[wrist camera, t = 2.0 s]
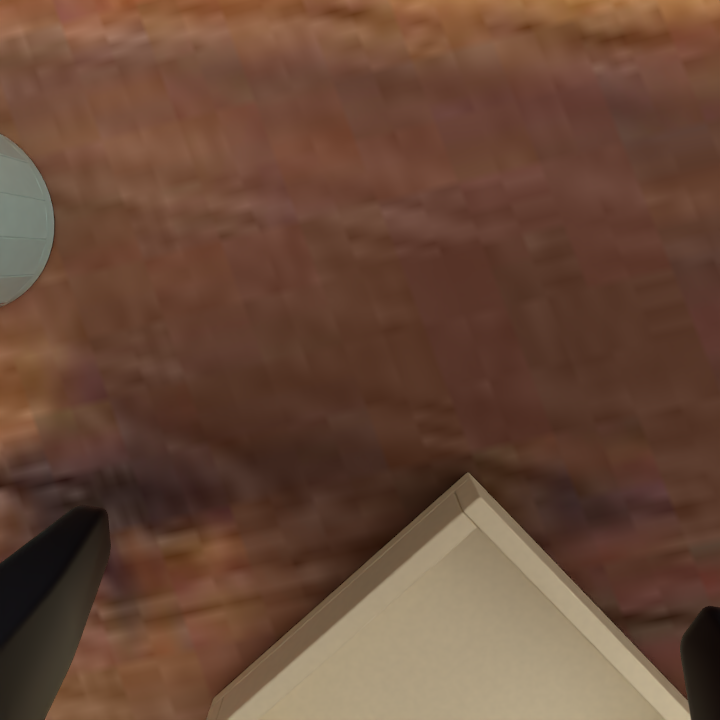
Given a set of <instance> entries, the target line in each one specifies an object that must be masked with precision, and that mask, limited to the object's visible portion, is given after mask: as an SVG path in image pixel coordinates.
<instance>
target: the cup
mask: <svg viewBox="0 0 720 720" xmlns="http://www.w3.org/2000/svg"><path fill="white" fill-rule="evenodd" d="M53 237H54V214H53V207H52V202H51V198H50V195H49V192H48V189H47V187H46V184H45V182H44V180H43V178H42V176H41V174H40V172H39V171H38V169H37V168H36V166H35V165H34V163H33V162H32V160H31V159H30V158H29V157H28V156H27V155H26V154H25V152H24V151H23V150H22V149H21V148H20V147H18V146H17V145H16V144H15V143H14V142H13V141H11V140H10V139H9V138H7V137H6V136H4V135H3V134H1V133H0V307H2V306H4V305H6V304H8V303H10V302H12V301H14V300H15V299H17V298H18V297H20V296H21V295H22V294H23V293H24V292H26V291H27V290H28V289H29V288H30V287H31V286H32V284H33V283H34V282H35V281H36V280H37V279H38V277H39V275H40V274H41V272H42V271H43V269H44V267H45V265H46V262H47V260H48V258H49V255H50V251H51V248H52V243H53Z"/></svg>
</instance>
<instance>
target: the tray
mask: <svg viewBox="0 0 720 720" xmlns="http://www.w3.org/2000/svg"><path fill="white" fill-rule="evenodd" d="M206 720H691V716H690V710H689V704H688V701H687V700H686V699H685V698H684V697H683V695H682V694H681V693H680V692H679V691H678V690H677V689H676V688H675V687H674V686H673V685H672V684H671V683H670V682H669V681H668V680H667V679H666V678H665V677H664V676H663V675H662V674H661V673H660V671H659V670H658V669H657V668H656V667H655V666H654V665H653V664H652V663H651V662H650V661H649V660H648V659H647V658H646V657H645V656H644V655H643V654H642V653H641V652H640V651H639V650H638V649H637V648H636V646H635V645H634V644H633V643H632V642H631V641H630V640H629V639H628V638H627V637H626V636H625V635H624V634H623V633H622V632H621V631H620V630H619V629H618V628H617V627H616V626H615V625H614V624H613V622H612V621H611V620H610V619H609V618H608V617H607V616H606V615H605V614H604V613H603V612H602V611H601V610H600V609H599V608H598V607H597V606H596V605H595V604H594V603H593V602H592V601H591V600H590V598H589V597H588V596H587V595H586V594H585V593H584V592H583V591H582V590H581V589H580V588H579V587H578V586H577V585H576V584H575V583H574V582H573V581H572V580H571V579H570V578H569V577H568V576H567V574H566V573H565V572H564V571H563V570H562V569H561V568H560V567H559V566H558V565H557V564H556V563H555V562H554V561H553V560H552V559H551V558H550V557H549V556H548V555H547V554H546V553H545V552H544V551H543V549H542V548H541V547H540V546H539V545H538V544H537V543H536V542H535V541H534V540H533V539H532V538H531V537H530V536H529V535H528V534H527V533H526V532H525V531H524V530H523V529H522V528H521V527H520V525H519V524H518V523H517V522H516V521H515V520H514V519H513V518H512V517H511V516H510V515H509V514H508V513H507V512H506V511H505V510H504V509H503V508H502V507H501V506H500V505H499V504H498V503H497V501H496V500H495V499H494V498H493V497H492V496H491V495H490V494H489V493H488V492H487V491H486V490H485V489H484V488H483V487H482V486H481V485H480V484H479V483H478V482H477V481H476V480H475V479H474V478H473V476H472V475H471V474H470V473H466V474H465V475H464V476H463V477H461V478H460V479H459V480H458V481H457V482H456V483H455V484H454V485H453V486H451V487H450V488H449V489H448V490H447V491H446V492H445V493H444V494H442V495H441V496H440V497H439V498H438V499H437V500H436V501H435V502H433V503H432V504H431V505H430V506H429V507H428V508H427V509H426V510H424V511H423V512H422V513H421V514H420V515H419V516H418V517H417V518H415V519H414V520H413V521H412V522H411V523H410V524H409V525H408V526H406V527H405V528H404V529H403V530H402V531H401V532H400V533H399V534H397V535H396V536H395V537H394V538H393V539H392V540H391V541H390V542H388V543H387V544H386V545H385V546H384V547H383V548H382V549H381V550H379V551H378V552H377V553H376V554H375V555H374V556H373V557H372V558H370V559H369V560H368V561H367V562H366V563H365V564H364V565H363V566H361V567H360V568H359V569H358V570H357V571H356V572H355V573H354V574H352V575H351V576H350V577H349V578H348V579H347V580H346V581H345V582H343V583H342V584H341V585H340V586H339V587H338V588H337V589H336V590H335V591H333V592H332V593H331V594H330V595H329V596H328V597H327V598H326V599H324V600H323V601H322V602H321V603H320V604H319V605H318V606H317V607H315V608H314V609H313V610H312V611H311V612H310V613H309V614H308V615H306V616H305V617H304V618H303V619H302V620H301V621H300V622H299V623H297V624H296V625H295V626H294V627H293V628H292V629H291V630H290V631H288V632H287V633H286V634H285V635H284V636H283V637H282V638H281V639H279V640H278V641H277V642H276V643H275V644H274V645H273V646H272V647H270V648H269V649H268V650H267V651H266V652H265V653H264V654H263V655H261V656H260V657H259V658H258V659H257V660H256V661H255V662H254V663H252V664H251V665H250V666H249V667H248V668H247V669H246V670H245V671H243V672H242V673H241V674H240V675H239V676H238V677H237V678H236V679H234V680H233V681H232V682H231V683H230V684H229V685H228V686H227V687H225V688H224V689H223V690H222V691H221V692H220V693H219V694H218V695H216V696H215V697H214V698H213V701H212V704H211V707H210V710H209V713H208V716H207V719H206Z"/></svg>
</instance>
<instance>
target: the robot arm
mask: <svg viewBox="0 0 720 720" xmlns="http://www.w3.org/2000/svg"><path fill="white" fill-rule="evenodd" d="M110 549H111V542H110V532H109V521H108V514H107V512H106V510H105V509H102V508H97V507H91V506H85V505H79V506H76V507H74V508H73V509H71V510H70V511H69V512H67V513H66V514H65V515H63V516H62V517H61V518H59V519H58V520H57V521H56V522H54V523H53V524H52V525H50V526H49V527H48V528H46V529H45V530H44V531H42V532H41V533H40V534H38V535H37V536H36V537H34V538H33V539H32V540H30V541H29V542H28V543H27V544H25V545H24V546H23V547H21V548H20V549H19V550H17V551H16V552H15V553H13V554H12V555H11V556H9V557H8V558H7V559H5V560H4V561H3V562H1V563H0V720H44V719H45V717H46V715H47V713H48V711H49V709H50V707H51V705H52V703H53V701H54V699H55V697H56V694H57V692H58V690H59V688H60V686H61V684H62V682H63V680H64V678H65V676H66V673H67V671H68V669H69V667H70V665H71V662H72V660H73V658H74V655H75V652H76V650H77V647H78V644H79V641H80V639H81V636H82V633H83V630H84V627H85V625H86V622H87V619H88V616H89V613H90V610H91V608H92V605H93V602H94V599H95V596H96V594H97V591H98V588H99V585H100V582H101V579H102V577H103V574H104V571H105V568H106V565H107V562H108V559H109V555H110ZM680 653H681V660H682V666H683V672H684V679H685V685H686V691H687V698H688V704H689V710H690V716H691V720H720V608H719V607H713V606H708V607H705V608H703V609H702V610H701V612H700V613H699V614H698V616H697V617H696V618H695V620H694V621H693V622H692V624H691V625H690V627H689V628H688V629H687V631H686V632H685V633H684V635H683V637H682V640H681V645H680Z"/></svg>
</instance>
